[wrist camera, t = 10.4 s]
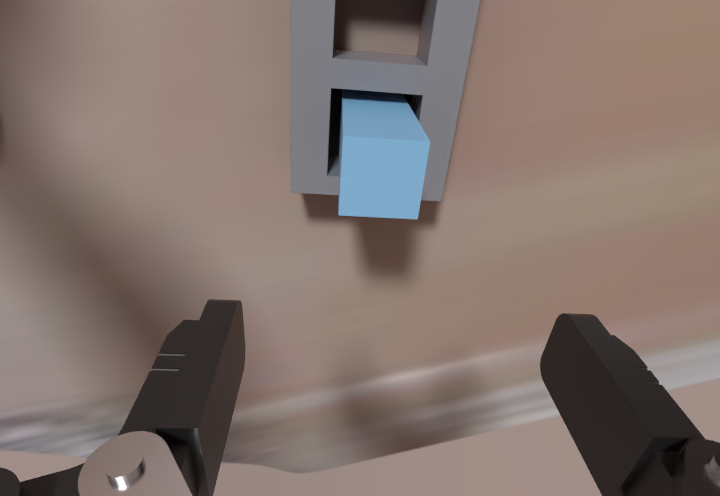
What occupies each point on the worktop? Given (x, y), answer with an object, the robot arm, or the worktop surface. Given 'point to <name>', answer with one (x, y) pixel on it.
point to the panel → (376, 86)
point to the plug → (380, 156)
